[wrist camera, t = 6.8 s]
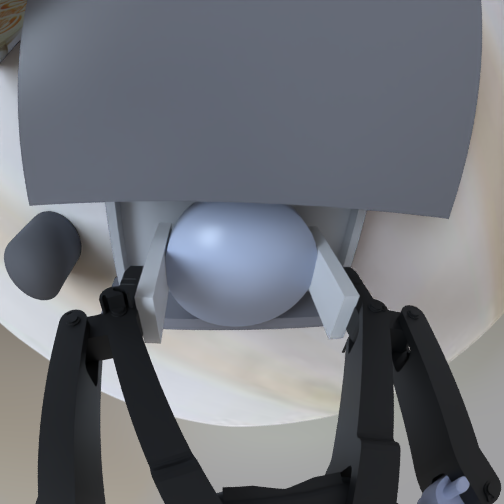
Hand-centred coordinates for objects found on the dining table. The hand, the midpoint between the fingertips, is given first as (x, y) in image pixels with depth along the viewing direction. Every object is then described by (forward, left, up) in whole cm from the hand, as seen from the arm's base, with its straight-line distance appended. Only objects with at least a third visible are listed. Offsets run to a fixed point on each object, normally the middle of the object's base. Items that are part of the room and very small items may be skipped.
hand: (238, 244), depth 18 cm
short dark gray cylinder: (+1, -14, -3) cm, 14 cm away
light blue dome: (0, 0, +1) cm, 1 cm away
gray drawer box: (-14, 0, -3) cm, 14 cm away
